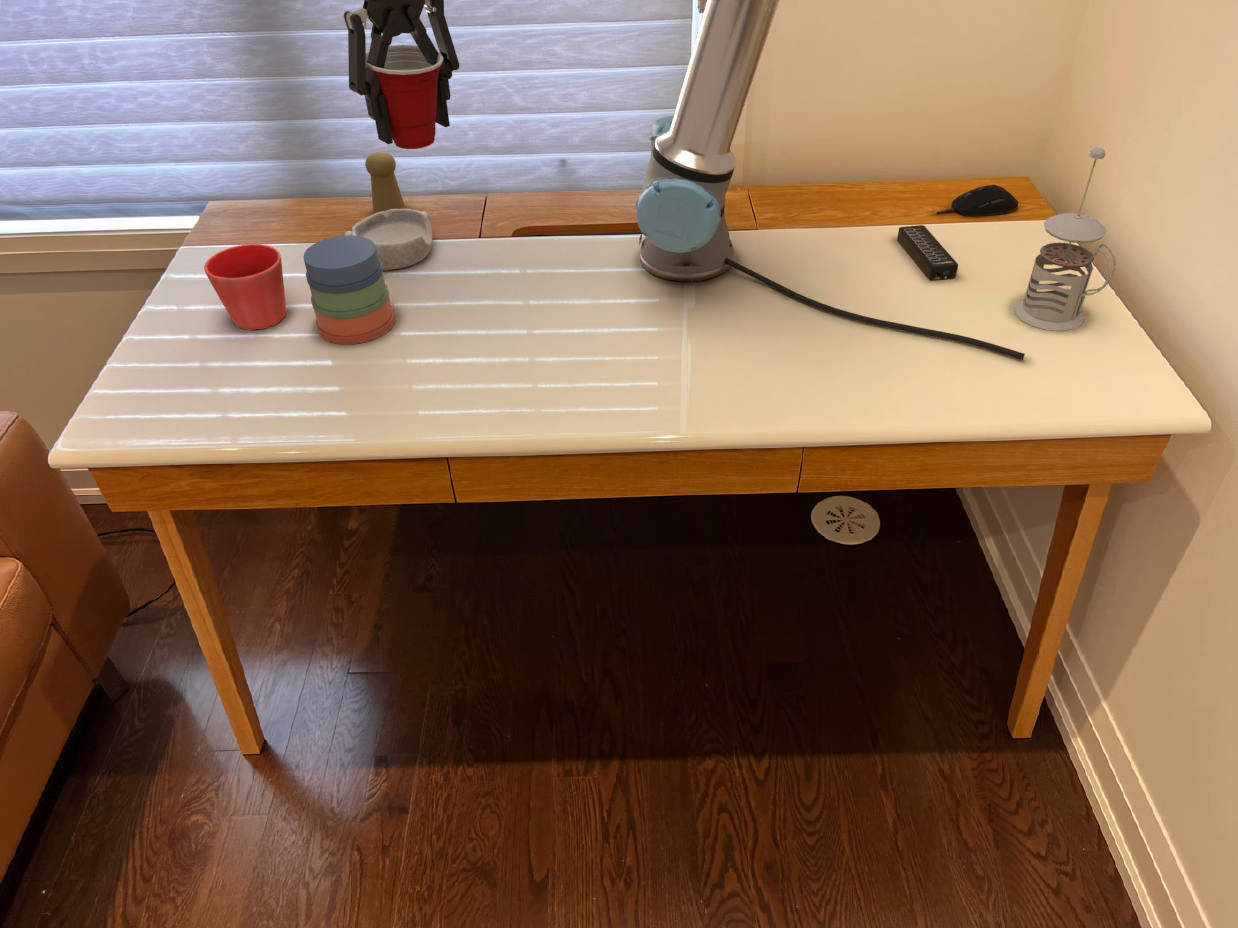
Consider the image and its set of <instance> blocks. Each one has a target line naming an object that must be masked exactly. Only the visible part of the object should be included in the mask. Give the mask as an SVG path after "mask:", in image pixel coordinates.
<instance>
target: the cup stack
mask: <svg viewBox="0 0 1238 928" xmlns="http://www.w3.org/2000/svg"><path fill="white" fill-rule="evenodd" d="M303 262H304V265H305V266H304V267H305V271H306V272H305V278H306V281H307V284H308V287H309V290H310V294H311V296H310V303H311V306H312V309H313V312H314V315H315V326H316V331H317V333H318V335H319V336H320V337H321V338H322V339H323V340H325V341H326V342H329V343H332V344H337V345H358V344H364V343H367V342H372V341H374V340H376V339H378V338H381V337H382V336H384V335H386V334H387V333H389V332H390V331H391V330H392V329H393V327H394V326H395V324H396V319H397V318H396V315H395V309H394V308H393V306H392V304H391V299H390V289H389V287H388V284H387V283H386V281H385V276H384V270H383V268H382V263H381V261H380V260H379V258H378V254H377V249H376V245H375V244H374V242H373V241H371V240H370V239H368V238H365V237H361V236H345V235H338V236H337V235H336V236H333V237H328V238H324V239H322V240H319V241H317V242H315V243H313V244H312V245H310V246H309V247H307V248H306V250H305V251H304V253H303Z"/></svg>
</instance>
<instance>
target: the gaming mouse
mask: <svg viewBox="0 0 1238 928" xmlns="http://www.w3.org/2000/svg"><path fill="white" fill-rule="evenodd" d="M1018 206H1019V200H1018V199H1017V198H1016V197H1015V196H1014V195H1013V194H1012V193H1011V192H1009V191H1008V190H1007V189H1006V188H1004V187H1003V186H999V185H997V184H989V185H988V184H987V185H983V186H978V187H975V188H973V189H970V190H968V191H966V192H964V193H962V194H960V195H958V196H957V197H955V199H953V200H952V202H951V207H949V208H946V209H943V210H938V211H936V214H937V215H939V214H945V213H951V212H955V213H958V214H960V215H962V216H965V217H980V216H988V215H989V216H990V215H991V216H992V215H1000V214H1007V213H1009V212H1012V211H1015V210H1016V209H1017V208H1018Z"/></svg>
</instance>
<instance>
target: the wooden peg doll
mask: <svg viewBox="0 0 1238 928" xmlns="http://www.w3.org/2000/svg"><path fill="white" fill-rule="evenodd" d="M364 166H365V170H366V172H367V173H368V174H369V175H370V185H371V202H372V215H373V214H375V213H378V212H382V211H383V212H384V211H387V210H390V209H407V208H406V205H405V202H404V198H403V195H402V192H401V189H400V186H399V183H398V179H397V177H396V174H395V171H396V166H397V162H396V159H395V158H394V156H393V155H392V154H391V153H389V152H386V151H378V152H373V153H370V154H369V155H368V156H367V157H366V158H365V165H364Z"/></svg>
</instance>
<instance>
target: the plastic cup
mask: <svg viewBox="0 0 1238 928" xmlns="http://www.w3.org/2000/svg"><path fill="white" fill-rule="evenodd" d="M438 53H439V54H438V60H437V63H436V64H435V65H431V64H429V63H428V62H427V61H426V59H425V57H424V56H423V54H422V52H421V51H420V49H419V47H418V46H417V45H409V44H395V45H394V44H393V45H392V44H391V45H389V47H388V52H387V56H386V61H385V66H384V69H383V68H378V67H375V66H373V65H371V64H369V63H367V60H368V55H369V50H368V51H366V67H368V68H370V69H372V70H374V71H376V74H377V76H378V77H379V81H380V82H381V84H380V89H379V93H380V94H382V95H385V100H386V106H387V112H388V117H389V123H390V129H391V135H392V140H393V144H394V145H395V146H396V147H397V148H399V149H402V150H403V149H405V150H418V149H424V148H427V147H429V146H431V145H432V144H434V143H435V140H436V139H435V138H436V125H437V123H436V110H437V80H438V74H439V69H440V66H441V64H442V62H443V56H442V55H441V54H440V52H439V51H438Z"/></svg>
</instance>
